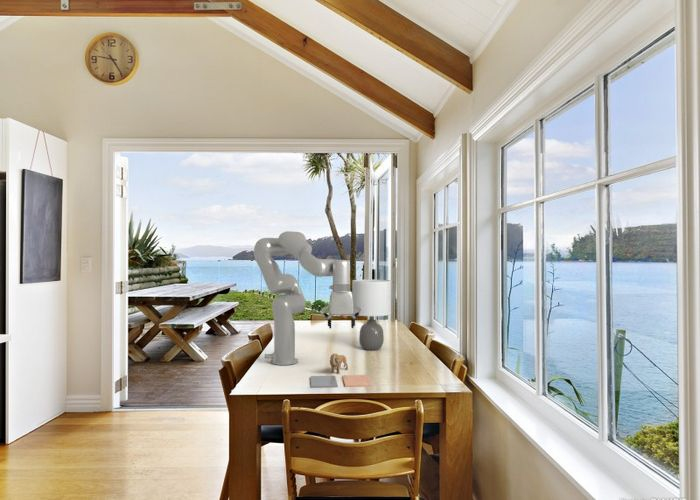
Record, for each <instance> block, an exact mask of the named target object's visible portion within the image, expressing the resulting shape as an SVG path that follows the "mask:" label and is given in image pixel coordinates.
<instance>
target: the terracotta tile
mask: <svg viewBox="0 0 700 500" xmlns="http://www.w3.org/2000/svg"><path fill="white" fill-rule="evenodd" d="M342 381H343V383H344V387H345V388H366V387H367V388H370V387H371V388H372V383H371V382H370V381H371V380H370V379H369V377H368V376H367V374H353V375H351V374H350V375H349V374H347V375H345V374H344V375H342Z"/></svg>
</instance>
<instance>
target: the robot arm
mask: <svg viewBox="0 0 700 500" xmlns="http://www.w3.org/2000/svg"><path fill="white" fill-rule="evenodd" d="M312 250H313V247H312V245H311V244H310V243H308V242H307V238H306V236H305V235H304V233H302V232H299V231H288V230H287V231H283V232H281V233H280V234H279V236H278V237H263V238H260V239H258V240H257V241H256V242H255V244H254V247H253V256H254V259H255V262H256V265H257V266H258V268H259V269H260V272H261V274H262V277H263V280H264V282H265V284H266V288H267V289H268V291H269V292H270V294H272V295H278V296H276V297H275V298H274V299H273V301H272V305H271V307H272V308H271V309H272V314H273V324H274V325H273V327H274V331H273V332H274V333H273V334H274V335H273V337H274V338H273V341H274V342H273V345H274V346H273V348H274V349H273V350H274V351H273V353H265V354H264V359H271V360H270V363H271V364H272V365H276V366H290V365H294V364H298V363H299V359H298V358H296V356H295V355H296V354H295V353H296V351H295V347H296V346H295V345H296V344H295V343H296V337H295V336H296V328H295V327H296V325H295V320H294V318H293V315H296V314H300V313H302V312H303V311H304V310H305V309H306V306H307V305H306V298H305V296H304V293H303V291H302V288H301V287H300V284H299V282H298V279H297V278H296V277H295V276H294V275H293V274H290V273H282V271H281V269H280V267H279V264H278V262H277V261H276V260H275V259H274V258H273V256H285V255H288V254H290V255H292V256H293V257H295V258H297V260H298V263H299V264H300V266H301V267H302V268H303V269H304V270H306V272H308V273H309V274H311V275H312V276H314V277H316V278H317V277H332V284H331V285H329V287H328V289H329V290H332V291H330V297H329V304H328V305H326V306H324V307H321V313H322V315H323V316H325V319H327V327H329V329H332V317H333V316H350V317H351V318H350V325H351V326H350V327H351V329H354V327H355V326H356V318H357V317H358V316H359V313H360V311H361V308H359V307H357V306H355V305H353V296H352V290H351V263H350V261H349V260H347V259H331V258H327V259H326V258H325V259H324V258H323V259H320V258H317V257H316V256H314V255H313V254H312V252H313V251H312ZM353 308H355V309H357V312H356V313H355V314H353ZM328 309H329V314H327V312H326V311H327V310H328Z"/></svg>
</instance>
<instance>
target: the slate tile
mask: <svg viewBox="0 0 700 500" xmlns="http://www.w3.org/2000/svg"><path fill="white" fill-rule="evenodd" d="M310 384H311V385H310V386H311V389H319V388H320V389H325V388H327V389H329V388H331V389H332V388H334V389H335V388H338V387H339V386H338V381H337V378H336V375H310Z"/></svg>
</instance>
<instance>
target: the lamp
mask: <svg viewBox="0 0 700 500" xmlns="http://www.w3.org/2000/svg"><path fill="white" fill-rule="evenodd" d="M351 287H352V290H351V292H352V296H353V305H355V306H357V307H359V308H361V311H360V313H359V315H358V316H361V317H369V318H368V319H367V320H366V323H363V324H362V325H361V326H360V328H359V338H358V341H359V345H360V347H361V348H362V349H364V350H365V351H378V350H380V349H381V348H382V347H383V345H384V337H385V336H384V335H385V334H384V329H383V326H382V325H380V323H377V320H376V319H375V317H384V316H385V317H386V316H391V315H392V280H389V279H353V280H352V286H351ZM356 312H357V309H355V308H353V314H355V313H356Z"/></svg>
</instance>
